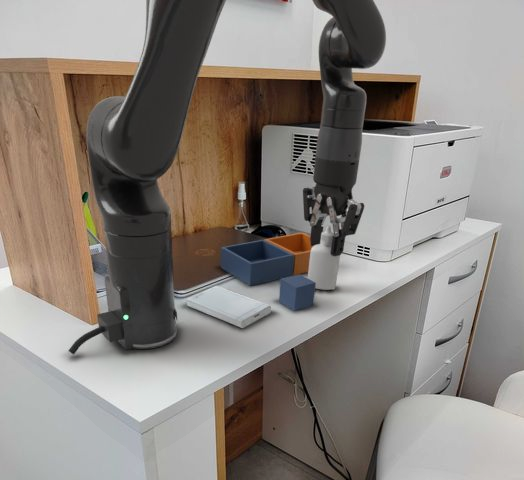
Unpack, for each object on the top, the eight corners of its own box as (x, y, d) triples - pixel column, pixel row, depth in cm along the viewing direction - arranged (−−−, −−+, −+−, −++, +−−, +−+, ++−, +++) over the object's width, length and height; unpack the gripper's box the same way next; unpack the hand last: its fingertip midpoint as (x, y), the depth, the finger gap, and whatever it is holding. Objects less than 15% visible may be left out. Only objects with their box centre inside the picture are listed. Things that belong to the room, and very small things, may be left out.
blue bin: (250, 285, 96) (250, 264, 94) (220, 267, 103) (221, 247, 101) (292, 275, 102) (294, 254, 99) (262, 259, 109) (263, 239, 107)
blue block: (294, 311, 88) (296, 287, 85) (278, 301, 91) (280, 278, 88) (313, 305, 90) (315, 282, 88) (297, 296, 93) (299, 274, 91)
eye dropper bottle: (315, 279, 100) (322, 220, 94) (339, 287, 97) (348, 227, 91) (303, 285, 97) (309, 225, 91) (327, 294, 94) (335, 232, 88)
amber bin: (293, 275, 102) (295, 254, 100) (263, 259, 109) (264, 239, 107) (331, 266, 108) (334, 246, 105) (300, 251, 115) (302, 232, 112)
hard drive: (186, 298, 86) (241, 320, 80) (217, 284, 92) (271, 304, 86) (186, 307, 87) (241, 329, 81) (217, 292, 93) (271, 312, 87)
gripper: (294, 149, 87) (286, 242, 96) (351, 164, 78) (337, 266, 86) (325, 147, 91) (315, 237, 100) (384, 161, 82) (367, 259, 90)
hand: (325, 250), depth 93 cm, fingers closed on eye dropper bottle, 5 cm apart
